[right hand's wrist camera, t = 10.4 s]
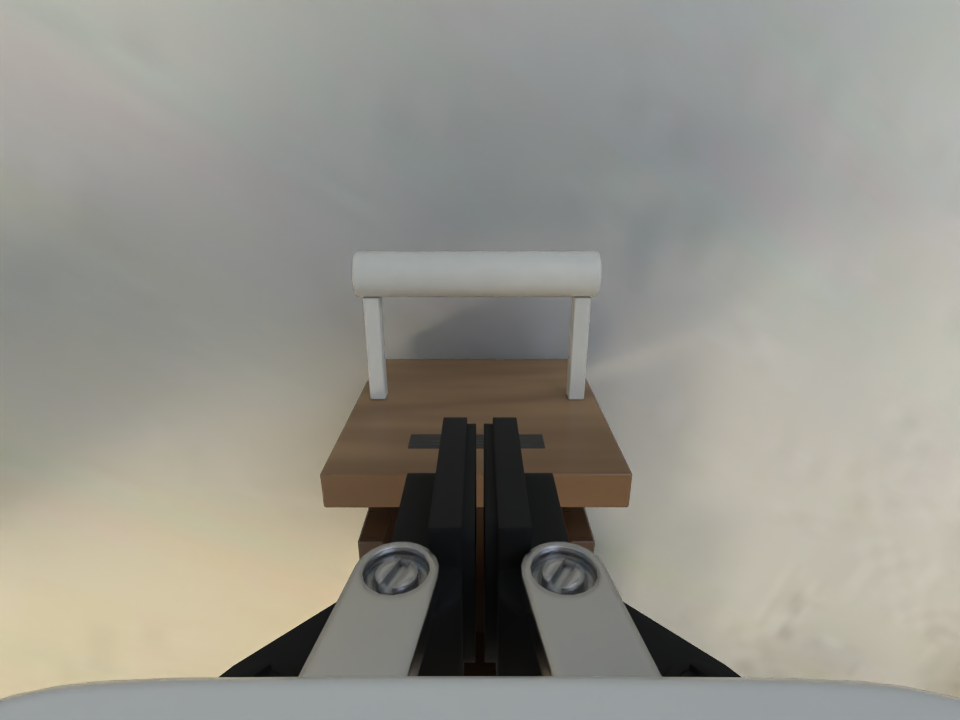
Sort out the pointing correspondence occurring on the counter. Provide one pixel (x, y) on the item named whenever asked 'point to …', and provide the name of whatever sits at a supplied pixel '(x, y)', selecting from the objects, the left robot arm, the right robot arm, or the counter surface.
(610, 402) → the counter surface
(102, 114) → the counter surface
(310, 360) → the counter surface
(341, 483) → the drawer
